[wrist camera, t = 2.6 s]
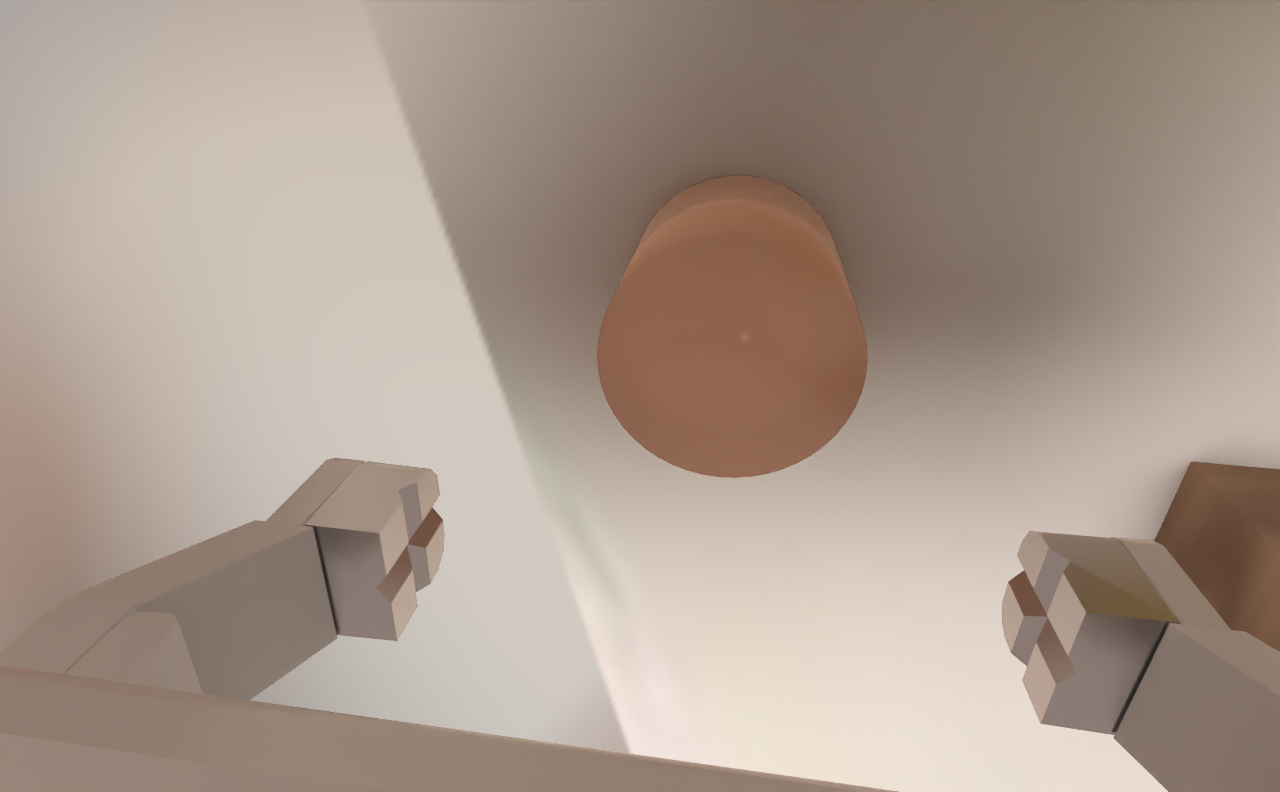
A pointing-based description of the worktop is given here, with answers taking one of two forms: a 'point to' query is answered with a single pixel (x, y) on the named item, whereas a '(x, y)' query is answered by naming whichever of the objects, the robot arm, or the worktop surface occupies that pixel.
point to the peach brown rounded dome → (733, 332)
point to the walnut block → (1230, 543)
